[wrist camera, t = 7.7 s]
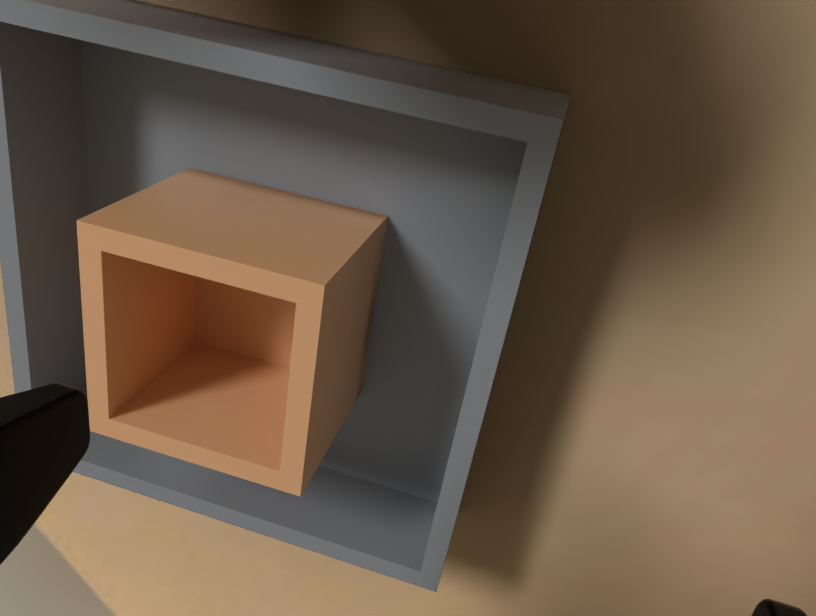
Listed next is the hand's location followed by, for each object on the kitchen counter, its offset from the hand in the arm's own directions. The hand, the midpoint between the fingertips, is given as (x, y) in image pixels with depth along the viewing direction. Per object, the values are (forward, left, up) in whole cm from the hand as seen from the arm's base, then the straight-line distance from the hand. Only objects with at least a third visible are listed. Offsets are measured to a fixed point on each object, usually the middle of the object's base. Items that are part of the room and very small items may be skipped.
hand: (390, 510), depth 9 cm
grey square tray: (+6, +3, -12) cm, 14 cm away
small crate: (+6, +3, -11) cm, 13 cm away
